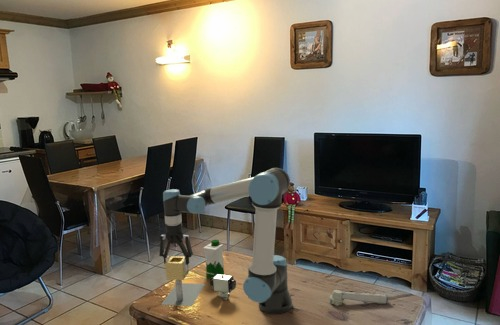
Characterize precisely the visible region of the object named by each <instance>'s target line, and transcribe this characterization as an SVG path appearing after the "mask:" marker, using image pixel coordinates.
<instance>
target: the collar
mask: <svg viewBox="0 0 500 325" xmlns="http://www.w3.org/2000/svg"><path fill="white" fill-rule="evenodd" d="M184 257H185V256H184V255H183V256H177V255H173V256H172V255H171V256H169V259H168V260H167V261H166V263H165V264H164V266H165V275H166V276H165V277H166V279H165V280H170V281H171V280H173V281H176V280H182V281H184V280H185V278H186V277H187V275H189V268H188V270H187V272H185V270H184Z"/></svg>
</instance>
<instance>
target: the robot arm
mask: <svg viewBox="0 0 500 325" xmlns="http://www.w3.org/2000/svg"><path fill="white" fill-rule="evenodd" d="M290 178H291V177H290V176H289V174H288V172H287V171H286V170H284V169H283V168H281V167H280V168H279V167H272V168H270V169H268V170H266V171H263V172H262V171H261V172H260V173H258V174H256V175H255V176H252V177H249V178H245V179H240V180H238V181H233V182H230V183H225V184H221V185H216V186H213V187H207V188H204V189H202V190H200V191H197V192H195V193H193V194H190V195H183V194H181V193H180V189H177V188H176V189H174V188H172V189H166V190H164V191H163V192H162V199H163V200H162V204H163V208H164V209H163V212H164V224H165V234H161V235H160V236H159V240H160V243H159V244H160V246H159V254H158V255H159V257H163V264H164V265H165V263H166V261H167V260H168V259H169V258H170V255H169V252H170V249H171V246H172V244H177V245H178V247H179V248H180V251H181V252H182V254H183V256H185V257H184V270H185V272H187V270H188V269H189V264H190V258H191V257H192V256H193V255H194V252H193V250H192V245H191V241H190V239H191V237H190V236H191V235H190V234H184V231H183V223H182V222H183V221H182V218H183V217H182V213H187V214H188V213H189V214H202V213H203V211H204V210H205V207H207V206H210V205H214V204H215V205H216V204H218V203H223V202H227V201H231V200H235V199H240V198H245V197H250V198H251V201H252V202H251V205H252V206H253V207H254V209H255V212H254V213H255V215H254V216H255V217H254V233H253V249H252V262H251V263H250V264H249V265H248V267H247V268H248V270H247V278H245V280H244V282H243V284H242V285H243V286H242V287H243V292H244V293H245V295H246V297H247V298H248V299H249V300H251V301H252V302H255V303H258V308H259V309H260V311H262V312H263V313H266V314H271V315H280V314H284V313H286V312H289V311H290V310H291V309H292V307H293V300H292V296H291V295H290V291H289V290H288V289H289V288H288V287H289V286H288V263H287V259H286V258H285V257H284V256H282V255H278V254H277V255H276V254H275V243H276V242H275V241H276V231H277V230H276V228H277V216H278V215H277V214H278V210H279V209H280V208H282V198H283V195H284V194H286V192H287V191H288V189H289V188H290V185H291V179H290ZM166 240H167V244H166ZM183 240H184V241H183ZM184 242H185V243H184ZM165 245H166V247H165Z"/></svg>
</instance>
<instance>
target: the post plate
mask: <svg viewBox="0 0 500 325" xmlns="http://www.w3.org/2000/svg"><path fill="white" fill-rule="evenodd" d="M174 281H175V283H174V284H175V285H174V286H173V287H172V289H171V291H170V292H169V293H168V295H167V296H166V297H165V299H164V300H163V301H162V303H161V304H160V305H161V306H178V307H180V306H182V307H183V306H185V307H188V306H189V307H192V306H193V305H194V303H195V302H196V300H197V299H198V297H199V296H200V294H201V292H202V290H203V289H204V287H205V286H206V283H189V282H187V283H186V282H185V283H184V282H182V281H183V280H174Z"/></svg>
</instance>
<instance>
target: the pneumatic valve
mask: <svg viewBox="0 0 500 325" xmlns="http://www.w3.org/2000/svg"><path fill="white" fill-rule="evenodd" d="M209 285H210V287H212V291H214V292H215V291H216V292H218V293H217V296H218V297H219V298H222V301H227V300H228V299H230V297H231V296H230V293H231V292H232V291H234V290H235V289H236V288H237V281H236V279H235V278H234V275H228V274H225V273H224V275H220V274H216V275H215V276H214V277H212V278H210V280H209Z"/></svg>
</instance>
